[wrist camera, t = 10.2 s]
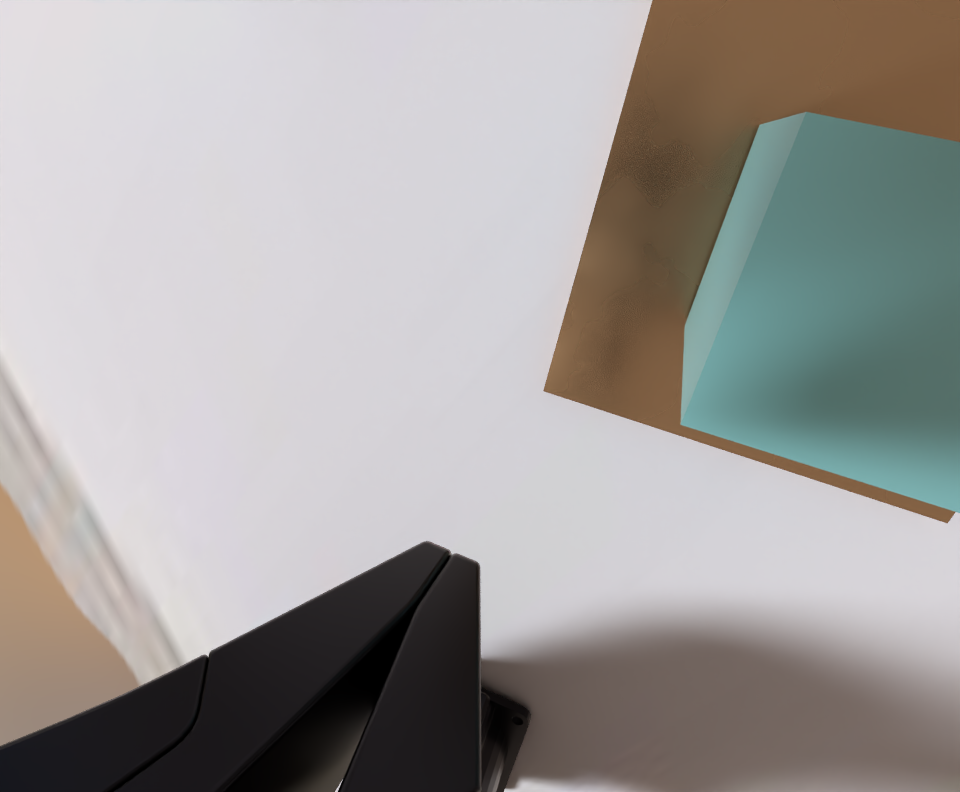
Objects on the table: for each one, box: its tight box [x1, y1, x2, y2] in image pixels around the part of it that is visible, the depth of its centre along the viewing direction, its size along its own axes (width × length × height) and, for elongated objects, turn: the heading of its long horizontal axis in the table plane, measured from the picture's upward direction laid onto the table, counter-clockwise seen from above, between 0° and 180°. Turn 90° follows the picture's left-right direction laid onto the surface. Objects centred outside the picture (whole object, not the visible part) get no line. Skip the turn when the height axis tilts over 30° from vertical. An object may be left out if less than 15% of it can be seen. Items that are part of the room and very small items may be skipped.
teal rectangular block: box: [680, 112, 960, 513], centre depth 12 cm, size 5×5×7 cm
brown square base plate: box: [544, 0, 960, 523], centre depth 12 cm, size 12×12×7 cm
